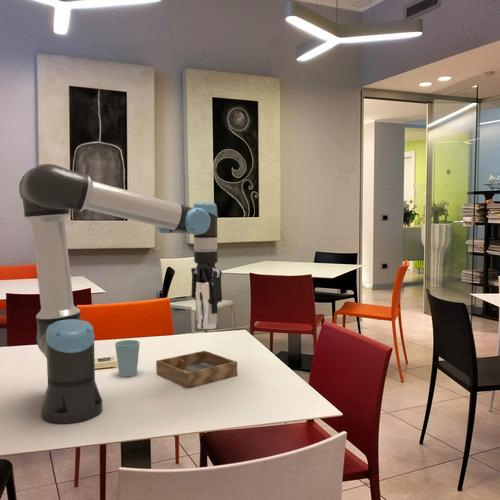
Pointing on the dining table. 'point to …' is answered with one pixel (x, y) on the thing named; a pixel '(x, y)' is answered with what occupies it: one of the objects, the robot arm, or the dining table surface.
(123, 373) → the cup
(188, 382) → the caddy
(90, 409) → the robot arm
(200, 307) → the shiny metal cylinder
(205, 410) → the dining table surface
